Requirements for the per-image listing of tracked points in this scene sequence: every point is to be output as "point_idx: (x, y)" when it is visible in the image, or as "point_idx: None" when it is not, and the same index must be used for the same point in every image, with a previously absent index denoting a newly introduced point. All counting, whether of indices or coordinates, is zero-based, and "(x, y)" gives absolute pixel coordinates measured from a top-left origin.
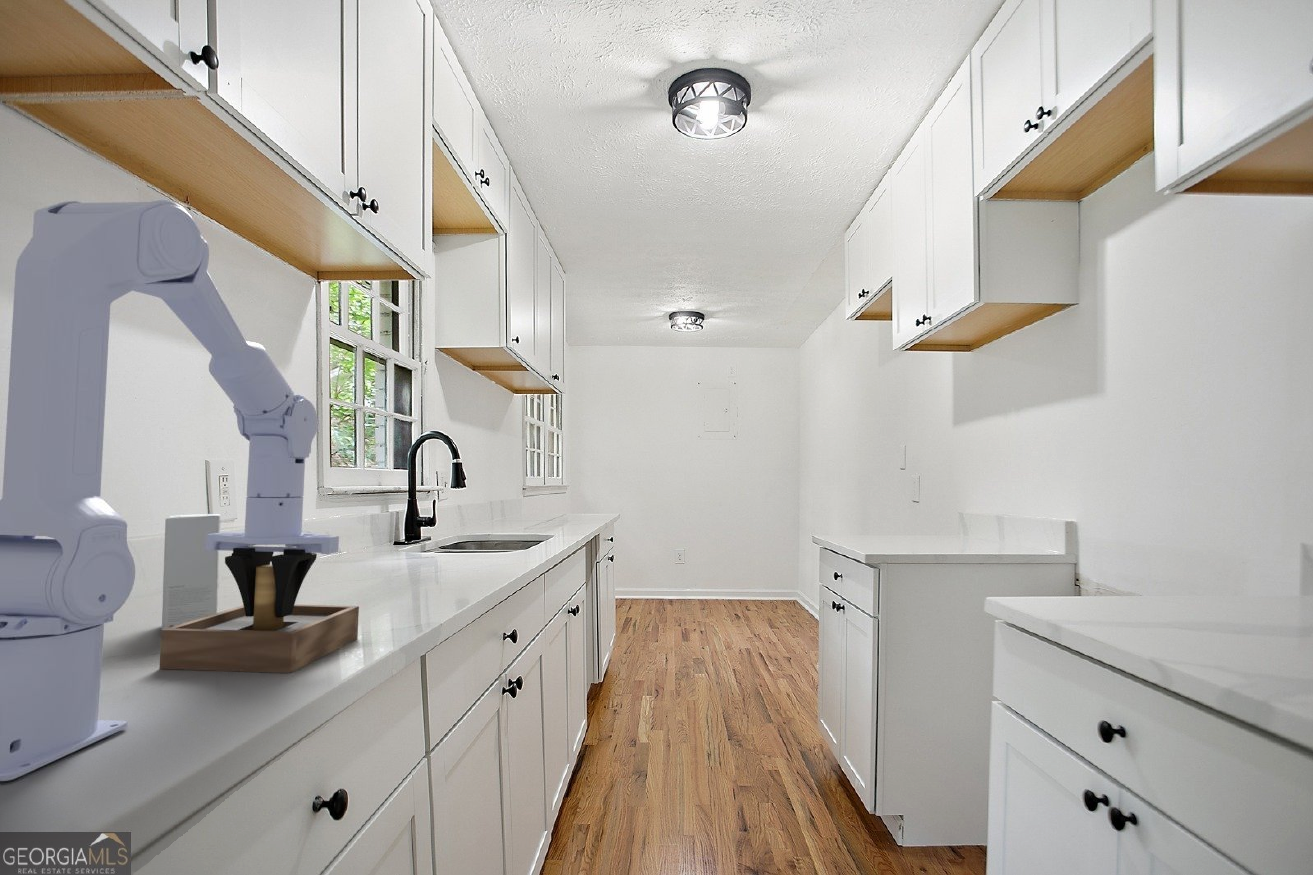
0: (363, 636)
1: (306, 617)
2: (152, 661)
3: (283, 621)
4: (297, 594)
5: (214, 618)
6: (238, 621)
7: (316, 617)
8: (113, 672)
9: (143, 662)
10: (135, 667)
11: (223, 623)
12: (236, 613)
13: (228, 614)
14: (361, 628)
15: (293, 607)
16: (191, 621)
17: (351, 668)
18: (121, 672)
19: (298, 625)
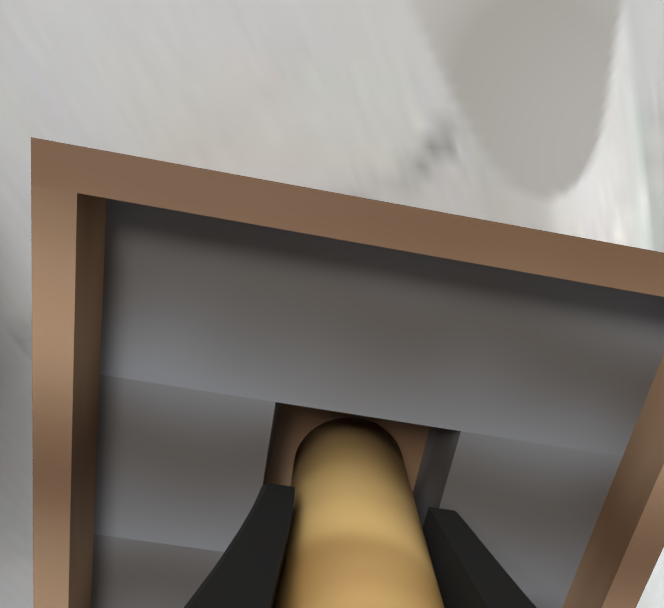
0: (654, 204)
1: (467, 331)
2: (31, 502)
3: (410, 487)
4: (525, 596)
5: (77, 492)
6: (163, 405)
7: (520, 334)
8: (10, 592)
9: (12, 510)
10: (31, 554)
11: (117, 442)
12: (87, 332)
13: (81, 398)
14: (627, 27)
15: (474, 533)
16: (41, 595)
17: (658, 596)
18: (32, 593)
19: (482, 496)
